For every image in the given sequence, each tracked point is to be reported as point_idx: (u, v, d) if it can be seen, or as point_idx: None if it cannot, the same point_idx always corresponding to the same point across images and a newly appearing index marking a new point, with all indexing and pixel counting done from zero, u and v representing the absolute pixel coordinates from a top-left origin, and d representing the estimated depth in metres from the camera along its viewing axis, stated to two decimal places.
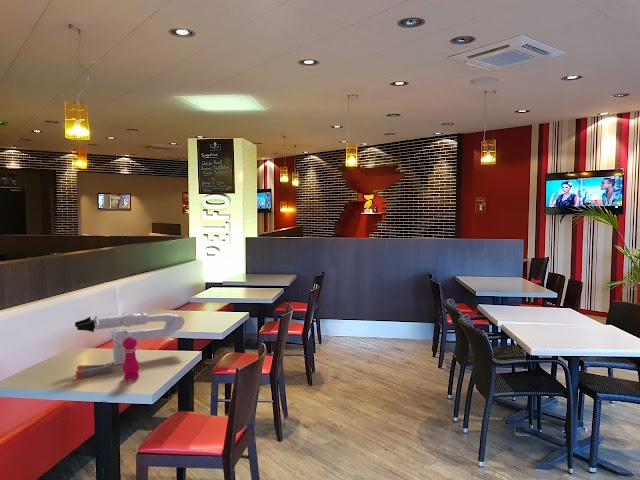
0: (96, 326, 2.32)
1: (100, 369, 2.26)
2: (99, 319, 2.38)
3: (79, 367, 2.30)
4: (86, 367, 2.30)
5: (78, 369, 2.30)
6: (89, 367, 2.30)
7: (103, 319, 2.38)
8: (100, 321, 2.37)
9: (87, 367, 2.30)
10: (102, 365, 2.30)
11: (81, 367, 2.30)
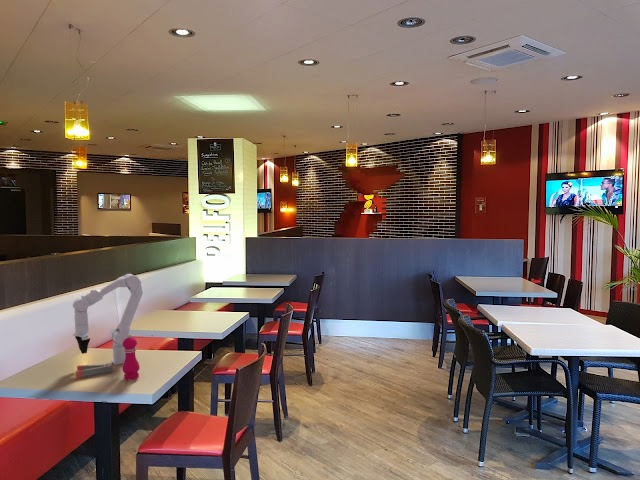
0: (84, 338, 2.29)
1: (100, 369, 2.26)
2: (77, 332, 2.32)
3: (79, 367, 2.30)
4: (86, 367, 2.30)
5: (78, 369, 2.30)
6: (89, 367, 2.30)
7: (77, 328, 2.32)
8: (79, 331, 2.32)
9: (87, 367, 2.30)
10: (102, 365, 2.30)
11: (81, 367, 2.30)
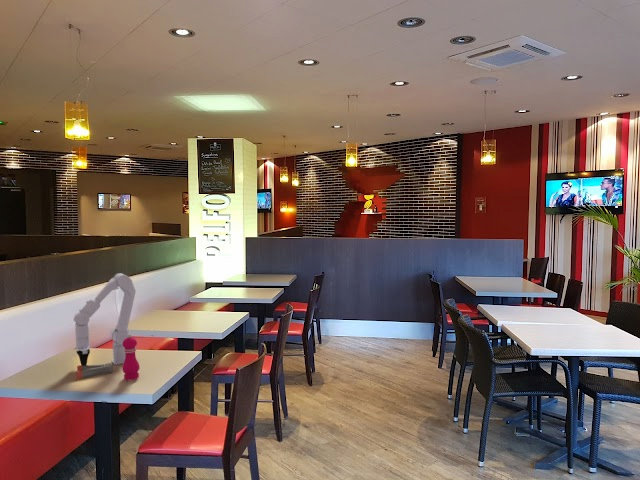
0: (84, 352, 2.29)
1: (100, 369, 2.26)
2: (78, 346, 2.33)
3: (79, 367, 2.30)
4: (86, 367, 2.30)
5: (78, 369, 2.30)
6: (89, 367, 2.30)
7: (78, 342, 2.32)
8: (80, 345, 2.32)
9: (87, 367, 2.30)
10: (102, 365, 2.30)
11: (81, 367, 2.30)
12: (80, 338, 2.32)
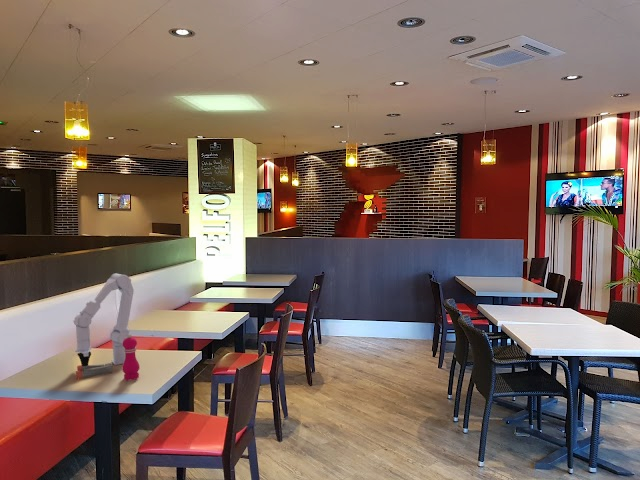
0: (85, 355, 2.26)
1: (100, 369, 2.26)
2: (79, 348, 2.30)
3: (79, 367, 2.30)
4: (86, 367, 2.30)
5: (78, 369, 2.30)
6: (89, 367, 2.30)
7: (79, 345, 2.29)
8: (81, 348, 2.29)
9: (87, 367, 2.30)
10: (102, 365, 2.30)
11: (81, 367, 2.30)
12: (81, 340, 2.29)
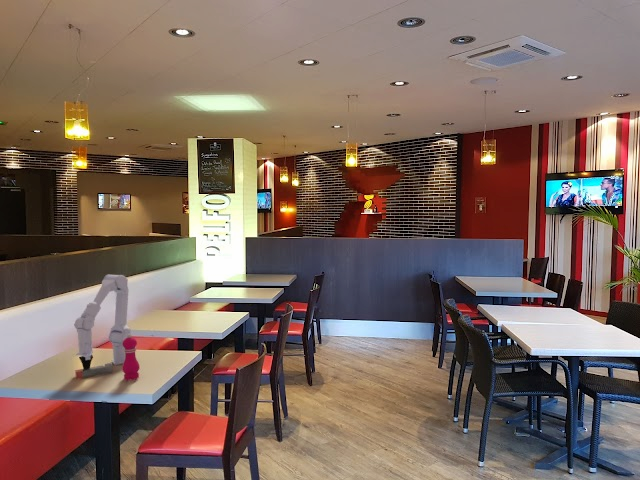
0: (87, 358, 2.21)
1: (100, 369, 2.26)
2: (80, 351, 2.24)
3: None
4: None
5: None
6: None
7: (81, 348, 2.24)
8: (83, 351, 2.24)
9: None
10: None
11: None
12: (83, 343, 2.24)
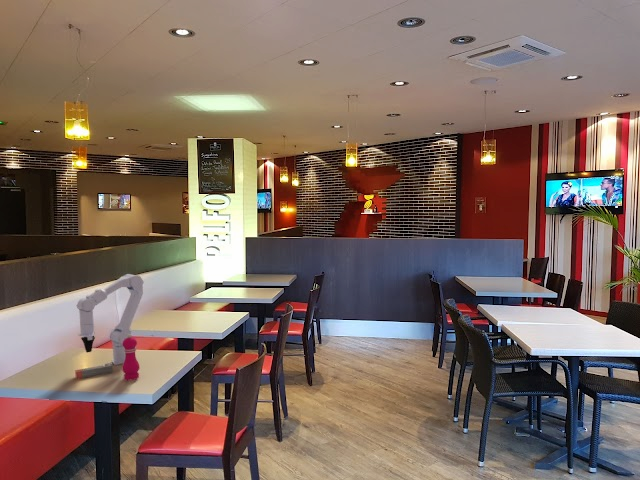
0: (89, 338, 2.26)
1: (100, 369, 2.26)
2: (82, 332, 2.30)
3: None
4: None
5: None
6: None
7: (82, 328, 2.30)
8: (84, 331, 2.30)
9: None
10: None
11: None
12: (85, 324, 2.29)
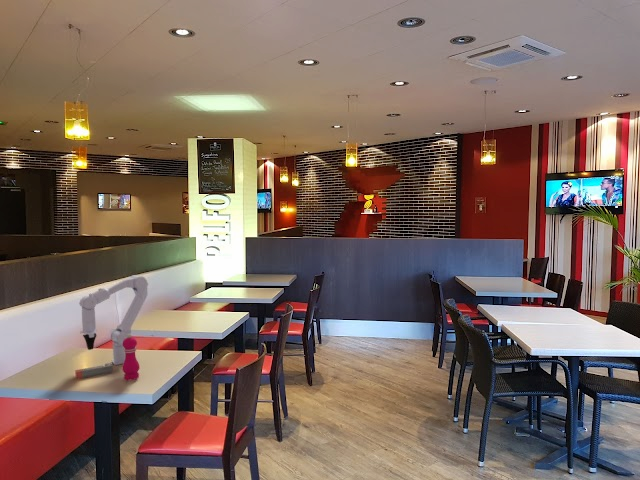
0: (91, 336, 2.29)
1: (100, 369, 2.26)
2: (84, 330, 2.32)
3: None
4: None
5: None
6: None
7: (84, 326, 2.32)
8: (86, 329, 2.32)
9: None
10: None
11: None
12: (86, 322, 2.32)
